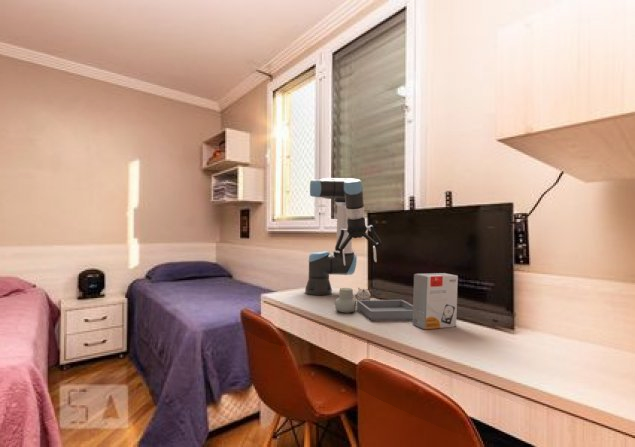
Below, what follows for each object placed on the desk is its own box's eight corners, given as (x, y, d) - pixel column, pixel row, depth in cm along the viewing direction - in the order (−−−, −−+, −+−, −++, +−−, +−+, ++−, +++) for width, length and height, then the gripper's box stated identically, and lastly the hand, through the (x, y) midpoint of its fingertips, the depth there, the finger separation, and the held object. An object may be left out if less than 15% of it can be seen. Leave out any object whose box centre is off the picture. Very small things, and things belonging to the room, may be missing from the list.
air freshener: (338, 307, 158) (339, 286, 158) (356, 309, 156) (357, 287, 156) (334, 313, 147) (334, 290, 147) (353, 315, 145) (353, 291, 145)
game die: (365, 313, 164) (365, 299, 158) (351, 304, 168) (350, 290, 162) (375, 302, 169) (376, 288, 163) (361, 293, 173) (362, 279, 167)
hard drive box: (424, 330, 125) (425, 276, 126) (411, 324, 132) (412, 273, 133) (457, 326, 131) (458, 275, 131) (443, 321, 138) (444, 272, 138)
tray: (356, 309, 156) (356, 300, 156) (402, 308, 159) (402, 299, 159) (370, 321, 136) (371, 311, 136) (422, 320, 140) (422, 310, 140)
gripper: (326, 222, 140) (332, 269, 147) (387, 215, 139) (390, 262, 146) (326, 217, 147) (331, 261, 154) (383, 210, 146) (386, 255, 153)
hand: (359, 262), depth 150 cm, fingers open, 13 cm apart
